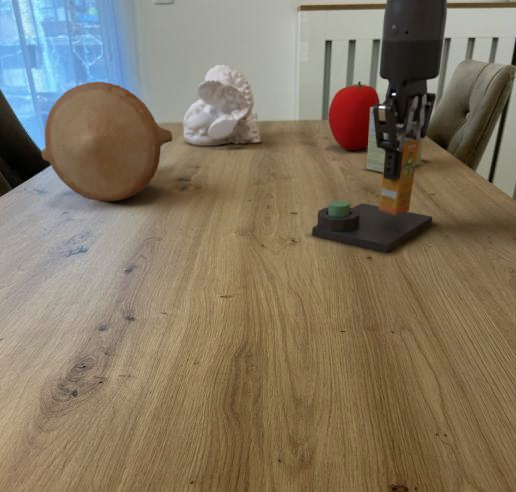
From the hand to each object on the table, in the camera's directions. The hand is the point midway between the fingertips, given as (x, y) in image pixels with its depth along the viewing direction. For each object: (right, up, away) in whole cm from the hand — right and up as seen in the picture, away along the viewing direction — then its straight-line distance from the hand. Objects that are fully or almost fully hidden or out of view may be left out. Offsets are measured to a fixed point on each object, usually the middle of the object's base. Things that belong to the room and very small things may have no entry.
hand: (398, 175), depth 78 cm
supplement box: (0, -5, +3) cm, 5 cm away
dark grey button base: (-3, -7, +3) cm, 8 cm away
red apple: (+2, +22, +51) cm, 55 cm away
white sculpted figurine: (-29, +27, +61) cm, 72 cm away
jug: (-45, +6, +27) cm, 53 cm away
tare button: (-8, -5, +1) cm, 10 cm away
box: (+8, +12, +35) cm, 38 cm away
